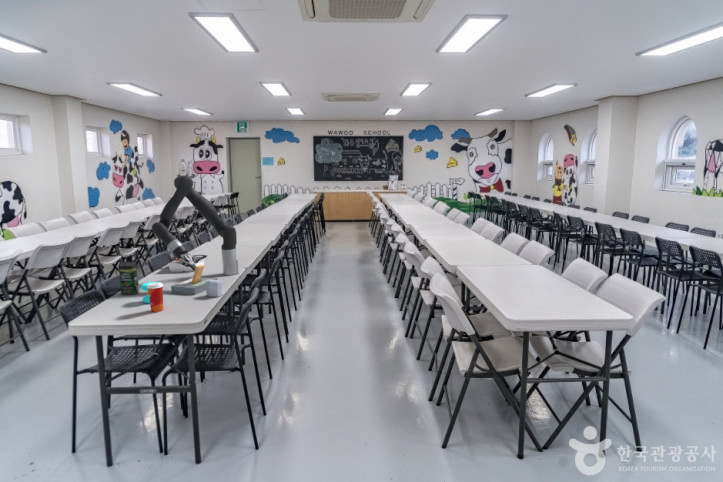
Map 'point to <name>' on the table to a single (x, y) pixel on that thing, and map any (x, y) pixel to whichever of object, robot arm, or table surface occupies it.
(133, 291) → the coffee jar
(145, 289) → the donuts
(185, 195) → the robot arm
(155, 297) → the paper cup
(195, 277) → the breaker lever
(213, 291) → the medicine box
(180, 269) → the food packaging
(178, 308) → the table surface
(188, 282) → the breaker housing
